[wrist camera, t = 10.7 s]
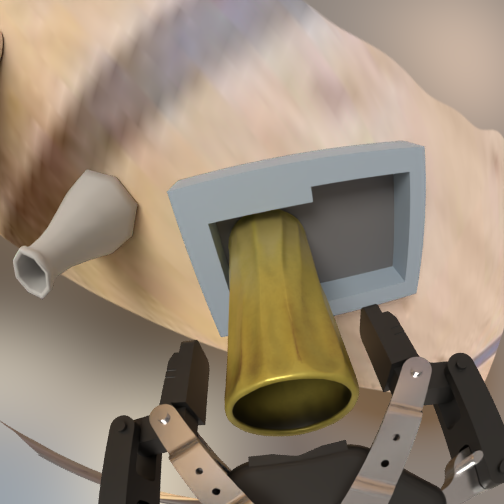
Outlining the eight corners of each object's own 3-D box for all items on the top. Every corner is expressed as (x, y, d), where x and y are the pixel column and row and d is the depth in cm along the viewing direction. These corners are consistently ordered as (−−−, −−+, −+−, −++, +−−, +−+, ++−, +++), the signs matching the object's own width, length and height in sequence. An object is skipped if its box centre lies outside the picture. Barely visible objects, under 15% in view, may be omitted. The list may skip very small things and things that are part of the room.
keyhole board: (177, 180, 19) (167, 191, 17) (403, 140, 18) (424, 146, 15) (222, 314, 25) (220, 337, 23) (402, 275, 24) (416, 293, 21)
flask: (153, 200, 20) (94, 266, 11) (118, 263, 23) (68, 342, 14) (85, 154, 18) (-2, 191, 9) (59, 222, 20) (-9, 281, 12)
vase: (303, 274, 23) (349, 430, 10) (231, 277, 23) (222, 442, 10) (307, 205, 20) (392, 353, 8) (225, 208, 20) (199, 370, 8)
